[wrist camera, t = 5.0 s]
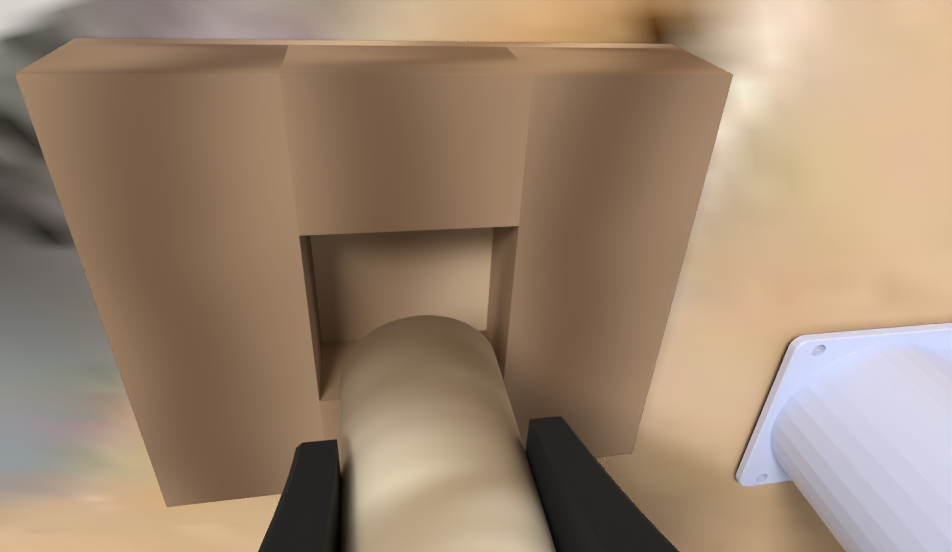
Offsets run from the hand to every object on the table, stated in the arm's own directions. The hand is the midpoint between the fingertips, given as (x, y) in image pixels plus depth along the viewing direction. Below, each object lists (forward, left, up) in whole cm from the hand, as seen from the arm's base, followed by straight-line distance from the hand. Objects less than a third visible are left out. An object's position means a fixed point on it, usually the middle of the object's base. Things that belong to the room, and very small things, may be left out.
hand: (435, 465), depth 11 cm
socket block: (0, 0, -8) cm, 8 cm away
